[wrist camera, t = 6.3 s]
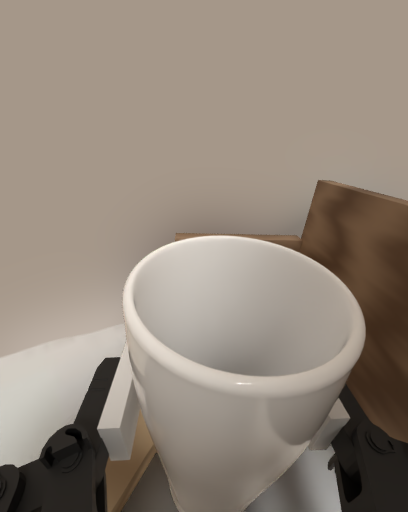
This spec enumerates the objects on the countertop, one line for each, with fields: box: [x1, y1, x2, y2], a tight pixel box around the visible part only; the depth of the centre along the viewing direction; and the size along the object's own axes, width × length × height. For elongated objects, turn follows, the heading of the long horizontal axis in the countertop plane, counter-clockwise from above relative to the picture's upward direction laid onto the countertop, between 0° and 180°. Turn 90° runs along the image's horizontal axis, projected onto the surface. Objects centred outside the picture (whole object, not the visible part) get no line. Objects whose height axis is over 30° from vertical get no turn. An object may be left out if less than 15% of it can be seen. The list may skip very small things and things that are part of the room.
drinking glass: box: [122, 236, 366, 512], centre depth 10 cm, size 7×7×15 cm
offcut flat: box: [105, 409, 157, 512], centre depth 13 cm, size 8×4×2 cm, turn 150°
